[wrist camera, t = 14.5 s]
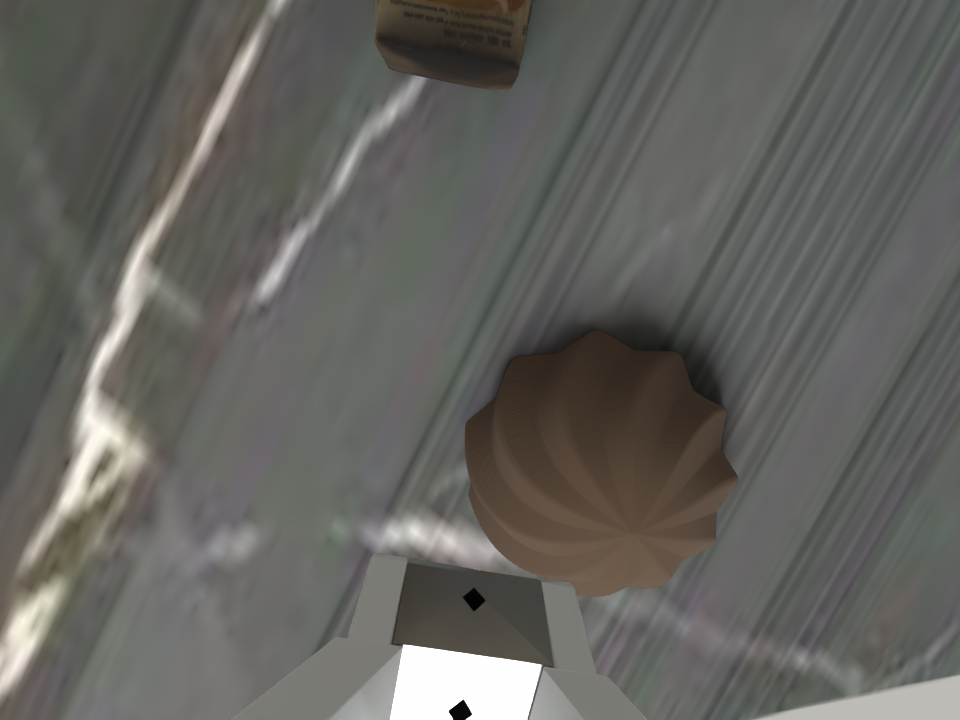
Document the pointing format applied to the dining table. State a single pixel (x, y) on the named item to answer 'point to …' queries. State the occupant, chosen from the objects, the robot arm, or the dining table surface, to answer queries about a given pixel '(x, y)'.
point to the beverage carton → (454, 39)
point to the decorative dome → (598, 466)
